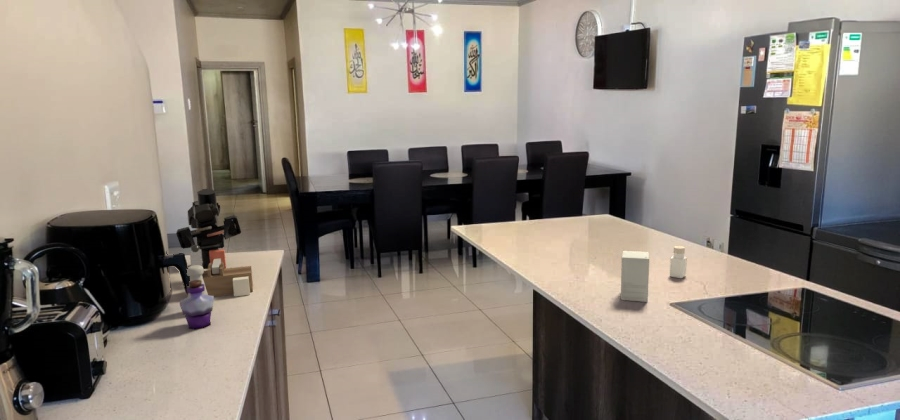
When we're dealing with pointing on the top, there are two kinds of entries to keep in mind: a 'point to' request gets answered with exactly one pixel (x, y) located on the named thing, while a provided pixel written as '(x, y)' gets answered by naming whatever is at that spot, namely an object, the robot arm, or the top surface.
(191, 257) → the lever
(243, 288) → the cream button
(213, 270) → the red plunger
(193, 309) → the potion bottle
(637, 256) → the supplement box
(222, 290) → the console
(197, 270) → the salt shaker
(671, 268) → the pepper shaker
